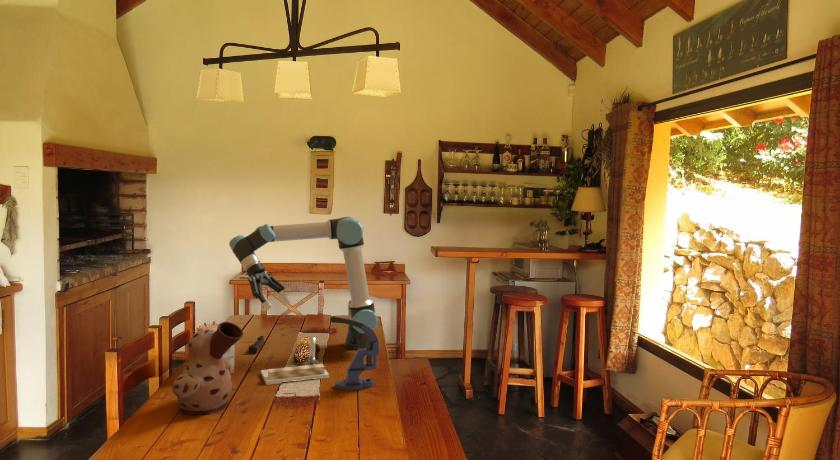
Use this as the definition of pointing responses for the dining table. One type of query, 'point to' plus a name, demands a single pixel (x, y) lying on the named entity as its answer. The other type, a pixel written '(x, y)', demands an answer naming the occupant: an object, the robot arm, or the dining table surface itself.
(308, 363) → the surface gauge
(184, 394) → the vessel
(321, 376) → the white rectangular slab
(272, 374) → the oak board
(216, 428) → the dining table surface
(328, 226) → the robot arm
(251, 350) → the hand tool
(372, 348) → the hand press
